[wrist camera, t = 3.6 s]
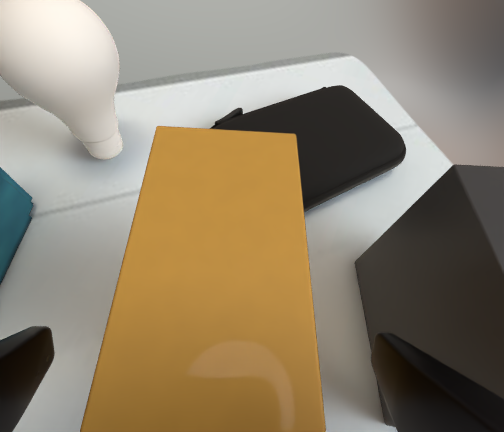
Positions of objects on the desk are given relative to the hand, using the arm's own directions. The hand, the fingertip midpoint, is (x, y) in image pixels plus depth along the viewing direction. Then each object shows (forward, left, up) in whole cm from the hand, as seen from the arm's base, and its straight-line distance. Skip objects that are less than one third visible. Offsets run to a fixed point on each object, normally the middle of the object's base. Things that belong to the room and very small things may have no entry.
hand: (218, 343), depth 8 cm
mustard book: (+2, -1, -9) cm, 9 cm away
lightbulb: (+18, +2, -9) cm, 20 cm away
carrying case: (+12, -12, -9) cm, 19 cm away
